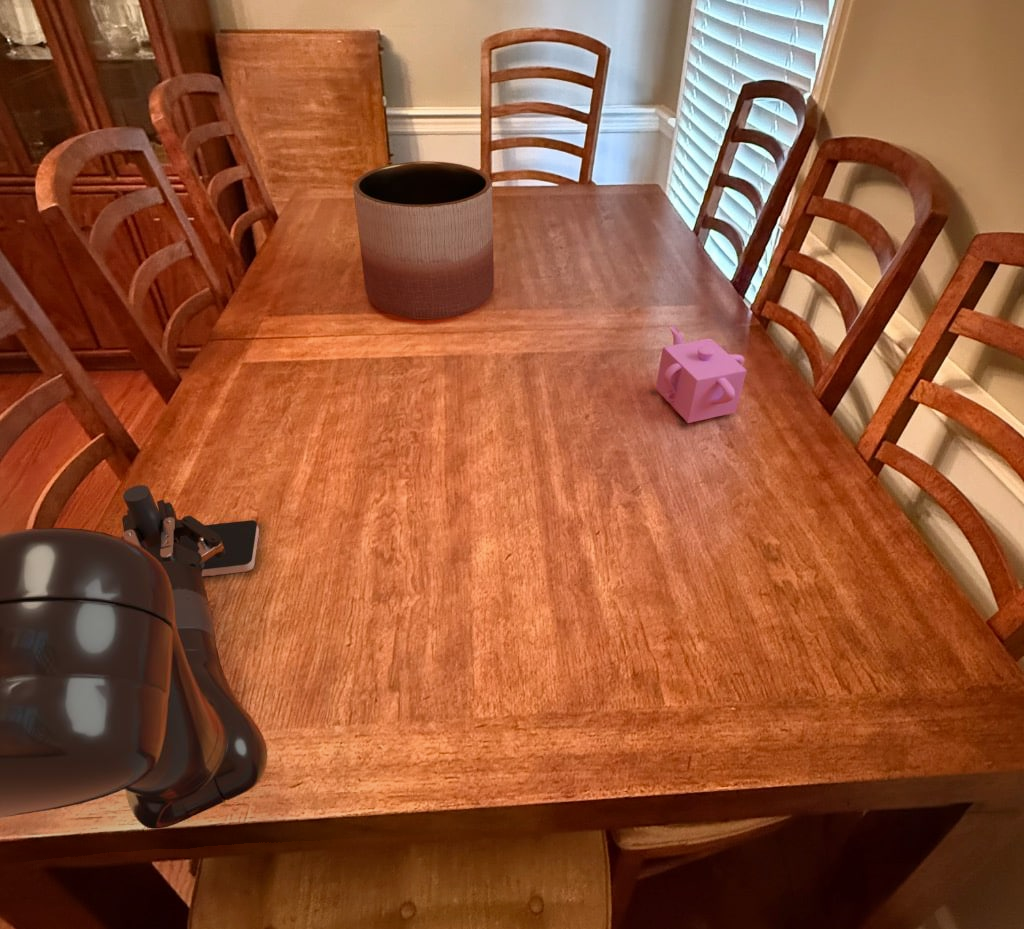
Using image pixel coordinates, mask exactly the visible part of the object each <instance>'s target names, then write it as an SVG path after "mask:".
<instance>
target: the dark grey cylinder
mask: <svg viewBox="0 0 1024 929" xmlns="http://www.w3.org/2000/svg"><path fill="white" fill-rule="evenodd" d="M122 499H123V501H124V503H125V505H126V507H127V510H129V511H130V513H131V516H132V518H133V520H134V522H135V524H136V526H137V528H138V530H139V532H140V534H141V536H142V538H143V541H144V543H145V546H146V548H147V547H153V546H155V545H157V544H159V543H161V532H163V524H162V522H161V519H160V518H161V515H160V513H159V509H158V505H157V503H156V502H155V499H154V497H153V495H152V492H151V490H150V488H149V486H148V485H145V484H143V485H142V484H140V485H139V484H138V485H134V486H132V487H129V488H128V489H126V490H125V491H124V493H123V495H122Z"/></svg>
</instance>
